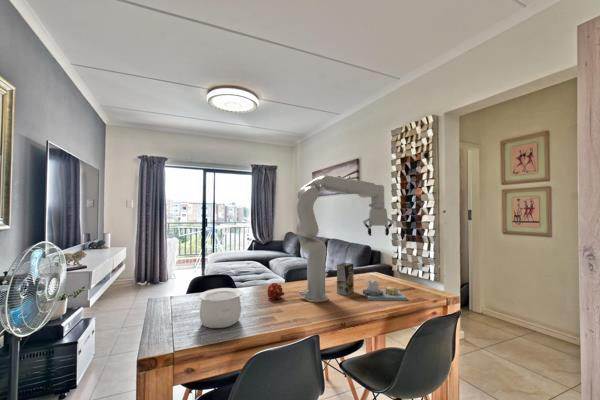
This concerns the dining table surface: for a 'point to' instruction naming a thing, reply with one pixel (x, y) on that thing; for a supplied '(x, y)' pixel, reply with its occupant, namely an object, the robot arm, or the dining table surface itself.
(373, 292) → the gear
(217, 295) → the pot
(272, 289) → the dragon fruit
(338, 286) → the coffee box
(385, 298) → the carrier
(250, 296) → the dining table surface
